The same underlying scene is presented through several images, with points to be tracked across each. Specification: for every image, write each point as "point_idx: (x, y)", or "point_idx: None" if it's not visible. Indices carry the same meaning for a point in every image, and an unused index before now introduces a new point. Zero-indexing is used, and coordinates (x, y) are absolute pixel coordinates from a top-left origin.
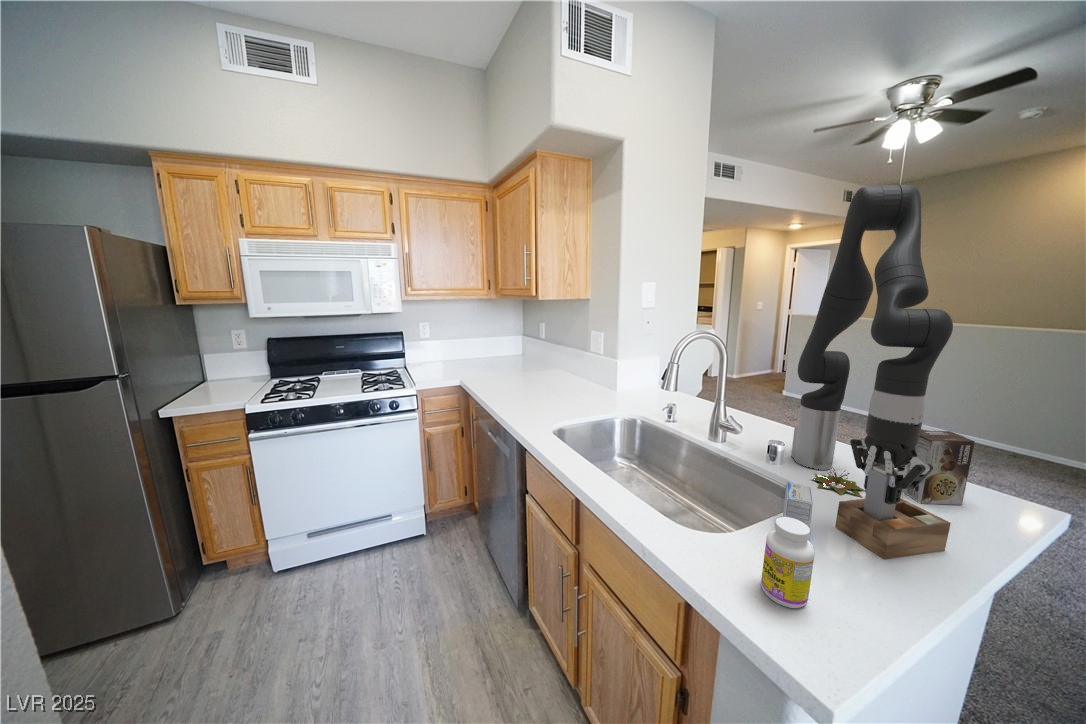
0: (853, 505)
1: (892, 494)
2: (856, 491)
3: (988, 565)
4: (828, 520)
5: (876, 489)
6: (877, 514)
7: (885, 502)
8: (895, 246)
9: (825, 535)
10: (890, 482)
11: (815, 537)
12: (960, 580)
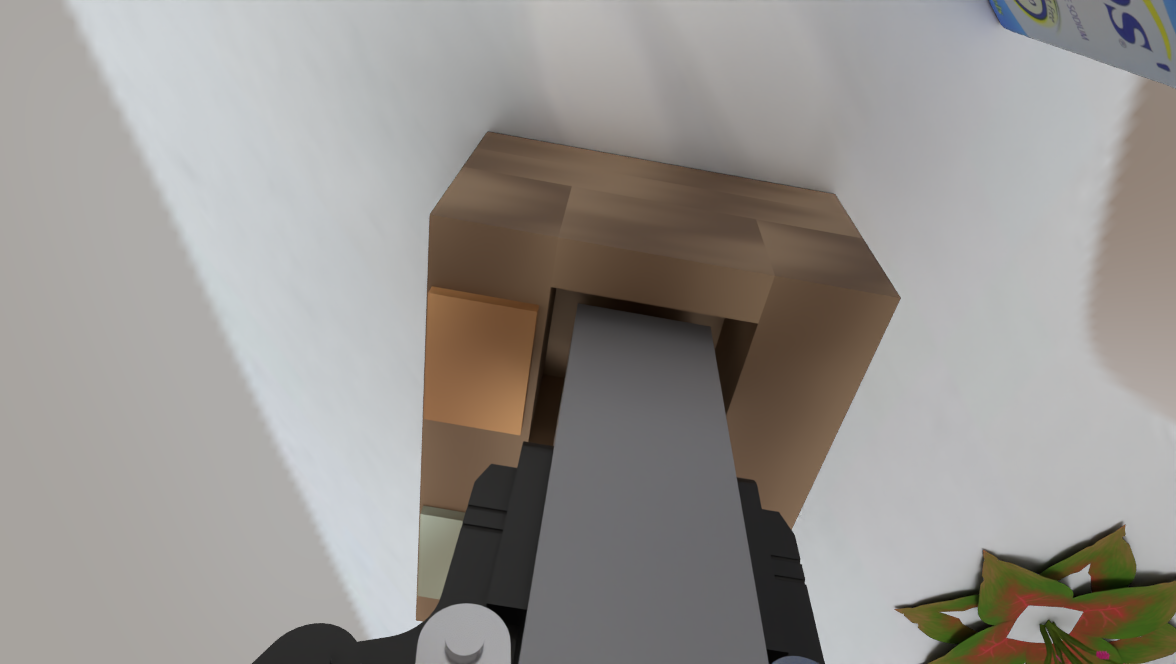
0: (793, 341)
1: (487, 538)
2: (942, 637)
3: (347, 517)
4: (902, 230)
5: (631, 517)
6: (597, 343)
7: (547, 445)
8: None
9: (818, 9)
10: (478, 660)
11: None
12: (278, 317)
